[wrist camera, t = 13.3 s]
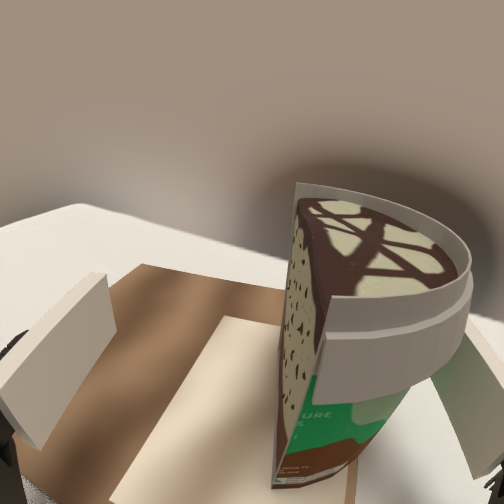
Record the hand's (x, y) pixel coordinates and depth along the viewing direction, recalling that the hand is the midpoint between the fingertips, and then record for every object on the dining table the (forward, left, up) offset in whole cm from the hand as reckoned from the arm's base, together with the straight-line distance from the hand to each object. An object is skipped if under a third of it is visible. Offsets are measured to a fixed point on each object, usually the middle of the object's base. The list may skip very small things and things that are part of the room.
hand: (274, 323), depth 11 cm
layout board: (-5, +3, -7) cm, 9 cm away
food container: (+3, +1, -6) cm, 7 cm away
